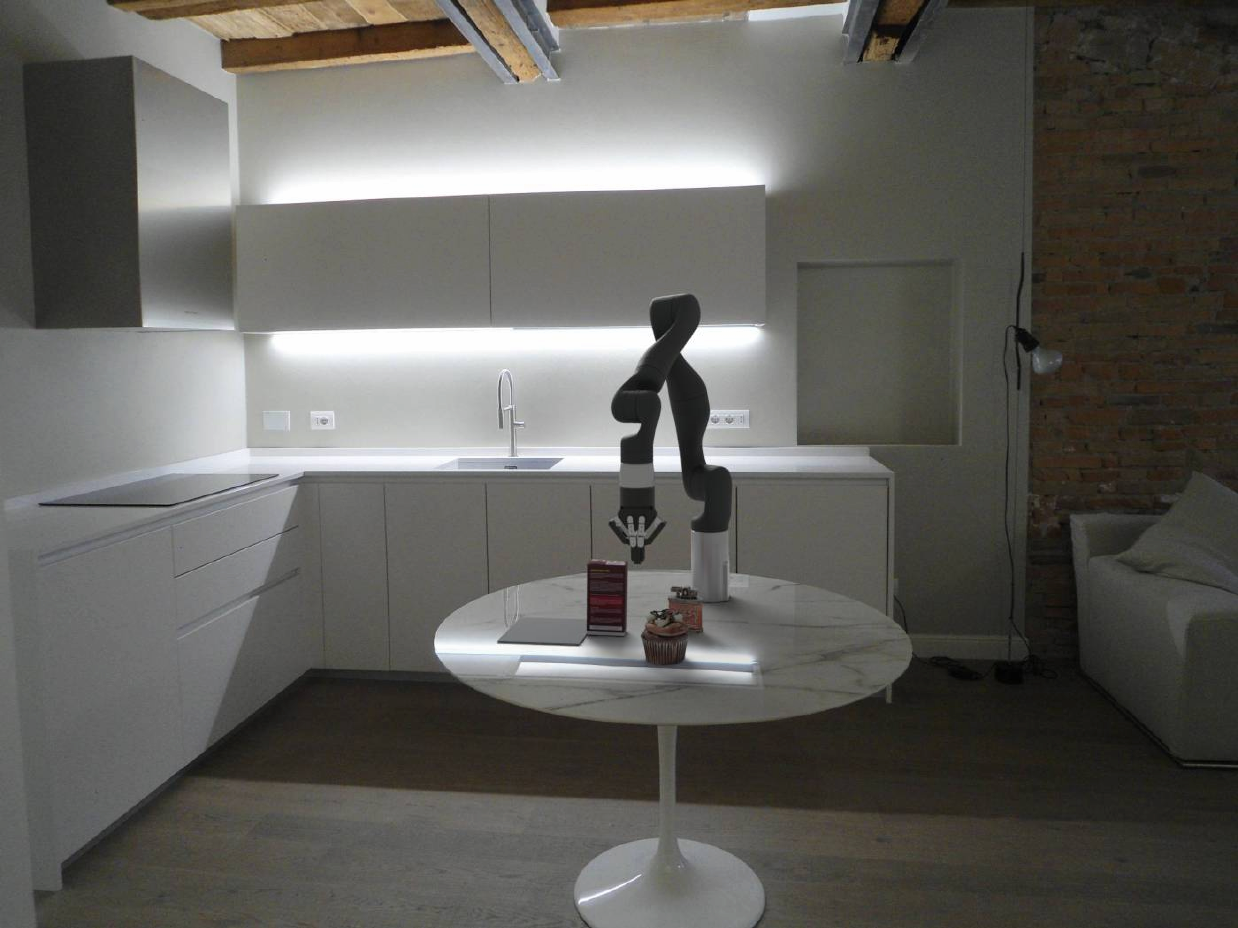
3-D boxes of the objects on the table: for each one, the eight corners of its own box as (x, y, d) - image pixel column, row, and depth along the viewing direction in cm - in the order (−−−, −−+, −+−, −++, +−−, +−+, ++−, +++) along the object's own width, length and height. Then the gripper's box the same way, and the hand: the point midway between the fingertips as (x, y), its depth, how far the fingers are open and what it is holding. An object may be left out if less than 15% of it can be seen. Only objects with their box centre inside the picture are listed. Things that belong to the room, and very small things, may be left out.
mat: (596, 621, 214) (596, 619, 214) (579, 645, 197) (579, 643, 197) (521, 618, 218) (521, 616, 217) (497, 642, 200) (497, 640, 200)
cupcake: (699, 658, 187) (698, 609, 186) (664, 670, 181) (663, 619, 179) (665, 647, 194) (665, 600, 193) (631, 658, 188) (630, 610, 187)
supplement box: (626, 630, 207) (629, 560, 205) (624, 636, 202) (626, 565, 200) (588, 628, 208) (589, 558, 206) (585, 634, 203) (586, 563, 201)
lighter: (705, 630, 205) (705, 586, 204) (700, 634, 202) (699, 589, 201) (671, 626, 209) (670, 582, 208) (665, 630, 206) (665, 586, 205)
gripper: (670, 481, 202) (670, 560, 204) (610, 481, 204) (611, 558, 206) (665, 486, 195) (666, 568, 197) (603, 485, 197) (604, 566, 199)
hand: (637, 563), depth 202 cm, fingers closed
